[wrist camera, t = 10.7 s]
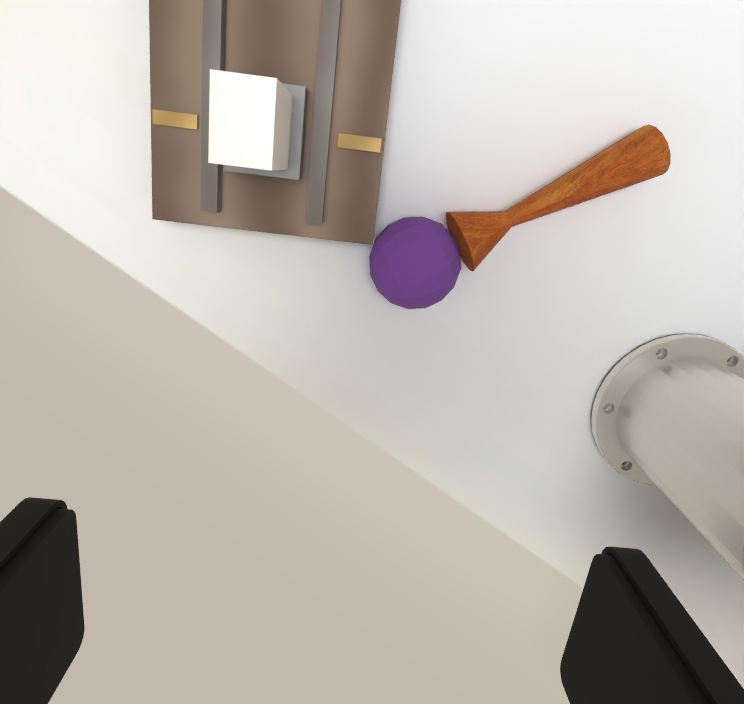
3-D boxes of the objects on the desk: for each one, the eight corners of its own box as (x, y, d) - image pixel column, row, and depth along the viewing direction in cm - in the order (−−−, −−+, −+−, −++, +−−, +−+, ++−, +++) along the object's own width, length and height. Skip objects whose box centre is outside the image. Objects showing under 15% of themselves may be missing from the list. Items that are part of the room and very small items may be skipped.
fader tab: (308, 90, 31) (292, 67, 24) (301, 179, 33) (285, 183, 26) (232, 80, 31) (194, 54, 24) (229, 170, 33) (193, 171, 26)
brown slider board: (416, -153, 30) (425, -200, 26) (371, 238, 38) (372, 247, 34) (165, -193, 30) (136, -249, 26) (168, 214, 37) (145, 220, 33)
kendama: (689, 202, 34) (400, 337, 34) (633, 185, 39) (382, 303, 40) (678, 106, 31) (363, 256, 32) (619, 101, 36) (349, 231, 37)
